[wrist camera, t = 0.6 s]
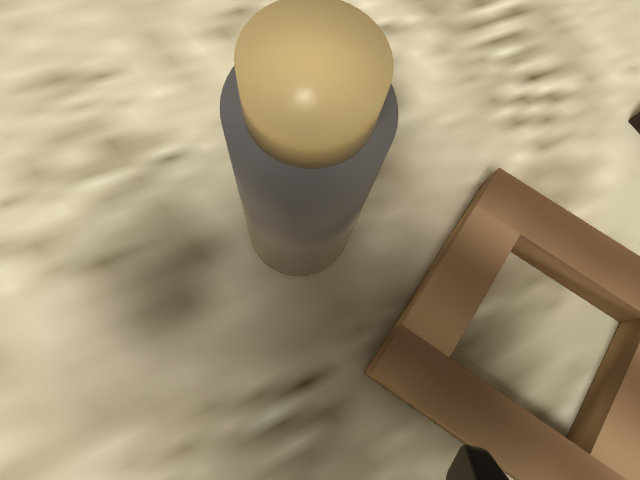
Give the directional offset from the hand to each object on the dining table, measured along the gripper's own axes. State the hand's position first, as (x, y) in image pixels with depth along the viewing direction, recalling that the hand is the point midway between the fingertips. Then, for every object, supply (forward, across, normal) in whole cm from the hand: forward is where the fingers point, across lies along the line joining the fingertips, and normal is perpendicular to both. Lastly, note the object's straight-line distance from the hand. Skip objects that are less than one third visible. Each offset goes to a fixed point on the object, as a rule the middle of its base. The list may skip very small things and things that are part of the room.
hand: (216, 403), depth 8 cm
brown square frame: (+13, -12, +6) cm, 19 cm away
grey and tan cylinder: (+15, 0, +4) cm, 15 cm away
